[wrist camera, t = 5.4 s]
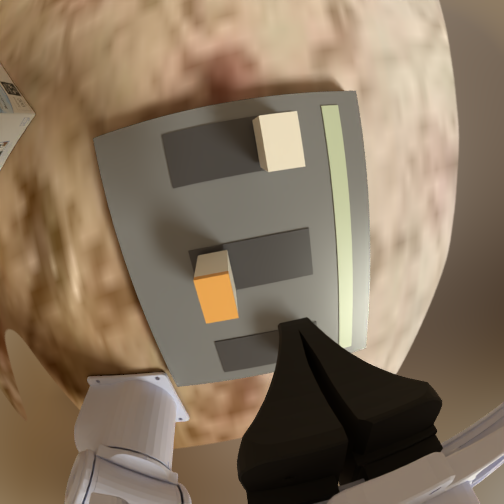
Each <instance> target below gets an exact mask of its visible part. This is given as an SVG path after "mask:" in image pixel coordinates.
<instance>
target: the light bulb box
mask: <svg viewBox="0 0 504 504" xmlns="http://www.w3.org/2000/svg"><path fill="white" fill-rule="evenodd" d="M34 116H35V113H34V111H33V110H32V109H31V107H30V106H29V104H28V103H27V102H26V100H25V99H24V97H23V96H22V95H21V93H20V92H19V90H18V89H17V87H16V86H15V85H14V83H13V82H12V80H11V79H10V77H9V76H8V74H7V73H6V71H5V70H4V68H3V67H2V65H1V63H0V170H1V168H2V166H3V164H4V163H5V161H6V159H7V157H8V156H9V154H10V152H11V151H12V149H13V147H14V146H15V144H16V143H17V141H18V140H19V138H20V136H21V135H22V133H23V132H24V130H25V129H26V127H27V126H28V125H29V123H30V122H31V120H32V119H33V117H34Z"/></svg>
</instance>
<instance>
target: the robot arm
mask: <svg viewBox="0 0 504 504" xmlns="http://www.w3.org/2000/svg"><path fill="white" fill-rule="evenodd" d="M278 333H279V349H278V357H277V362H276V367H275V371H274V375H273V378H272V381H271V384H270V387H269V390H268V392H267V395H266V397H265V400H264V402H263V404H262V406H261V408H260V410H259V412H258V413H257V415H256V417H255V419H254V421H253V422H252V424H251V425H250V427H249V428H248V430H247V431H246V433H245V434H244V436H243V438H242V441H241V445H240V449H239V453H238V459H237V470H238V478H239V481H240V482H241V484H242V486H243V487H244V489H245V490H246V492H247V499H248V504H480V502H479V500H478V498H477V496H476V494H475V493H474V491H473V489H472V487H474V486H475V485H476V484H478V483H479V482H481V481H482V480H483V479H484V478H486V477H487V476H488V475H490V474H491V473H492V472H493V471H495V470H496V469H497V468H498V467H499V466H500V465H502V464H503V463H504V402H503V403H502V404H500V405H499V406H498V407H496V408H495V409H494V410H492V411H491V412H490V413H488V414H487V415H486V416H484V417H483V418H481V419H480V420H478V421H477V422H475V423H474V424H472V425H471V426H469V427H468V428H466V429H465V430H463V431H461V432H460V433H458V434H456V435H455V436H453V437H451V438H450V439H448V440H446V441H444V442H443V443H440V441H439V440H438V438H437V437H436V435H435V434H436V433H437V429H436V428H435V426H434V422H435V420H436V418H437V416H438V414H439V412H440V409H441V407H442V400H441V398H440V397H439V396H438V394H437V393H436V391H435V390H434V389H433V388H432V387H431V386H430V385H429V383H428V382H424V381H419V380H414V379H410V378H405V377H402V376H398V375H396V374H393V373H390V372H387V371H385V370H382V369H380V368H378V367H375V366H373V365H371V364H369V363H367V362H365V361H363V360H361V359H360V358H358V357H356V356H355V355H353V354H351V353H350V352H348V351H347V350H346V349H344V348H343V347H341V346H340V345H339V344H337V343H336V342H335V341H334V340H332V339H331V338H330V337H329V336H327V335H326V334H325V333H324V332H323V331H322V330H321V329H319V328H318V327H317V326H316V325H315V324H314V323H313V322H312V321H311V320H310V319H309V318H308V317H305V318H301V319H297V320H292V321H287V322H283V323H279V325H278ZM87 382H88V383H89V385H90V387H89V389H88V392H87V394H86V397H85V399H84V402H83V404H82V407H81V410H80V412H79V415H78V418H77V420H76V423H75V429H74V437H75V443H76V447H77V449H78V451H79V454H78V455H77V457H76V460H75V462H74V465H73V467H72V470H71V473H70V477H69V480H68V484H67V488H66V494H65V503H64V504H192V503H191V498H190V496H189V494H188V491H187V490H186V488H185V487H184V486H183V485H182V484H180V483H178V474H177V473H175V472H172V471H171V467H172V454H173V442H174V432H175V422H180V421H188V420H189V415H188V413H187V412H186V410H185V408H184V406H183V404H182V402H181V401H180V399H179V397H178V395H177V393H176V391H175V389H174V387H173V385H172V384H171V382H170V380H169V378H168V376H167V374H166V373H164V372H156V373H145V374H131V375H114V376H89V377H88V378H87ZM338 482H339V484H340V486H338Z"/></svg>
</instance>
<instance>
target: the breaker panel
mask: <svg viewBox="0 0 504 504" xmlns="http://www.w3.org/2000/svg"><path fill="white" fill-rule="evenodd" d="M93 141H94V146H95V151H96V156H97V161H98V166H99V170H100V175H101V179H102V183H103V187H104V191H105V195H106V199H107V203H108V207H109V210H110V214H111V218H112V221H113V225H114V228H115V231H116V235H117V238H118V241H119V244H120V248H121V251H122V254H123V257H124V260H125V263H126V266H127V269H128V271H129V274H130V277H131V280H132V283H133V285H134V288H135V291H136V294H137V296H138V299H139V301H140V304H141V307H142V309H143V312H144V314H145V317H146V319H147V321H148V324H149V326H150V329H151V331H152V333H153V336H154V338H155V340H156V343H157V345H158V347H159V349H160V352H161V354H162V356H163V358H164V360H165V362H166V365H167V367H168V369H169V371H170V373H171V375H172V377H173V379H174V381H175V383H176V385H177V387H180V386H189V385H198V384H206V383H213V382H220V381H227V380H233V379H239V378H245V377H251V376H256V375H262V374H267V373H272V372H274V371H275V367H276V362H277V357H278V349H279V333H278V325H279V323H283V322H287V321H292V320H297V319H301V318H305V317H308V318H309V319H310V320H311V321H312V322H313V323H314V324H315V325H316V326H317V327H318V328H319V329H321V330H322V331H323V332H324V333H325V334H326V335H327V336H329V337H330V338H331V339H332V340H334V341H335V342H336V343H337V344H339V345H340V346H341V347H343V348H344V349H346V350H347V351H348V352H350V353H353V352H356V351H359V350H363V349H366V341H367V329H368V314H369V293H370V220H369V199H368V184H367V172H366V161H365V151H364V142H363V134H362V127H361V120H360V113H359V106H358V100H357V94H356V91H328V92H310V93H296V94H285V95H276V96H267V97H259V98H252V99H245V100H238V101H232V102H226V103H221V104H216V105H210V106H205V107H200V108H196V109H191V110H187V111H182V112H178V113H174V114H170V115H166V116H162V117H159V118H155V119H151V120H148V121H144V122H141V123H138V124H134V125H131V126H128V127H125V128H121V129H118V130H115V131H112V132H110V133H107V134H104V135H101V136H98V137H95V138H93ZM224 250H227V251H228V256H229V261H230V265H231V270H232V274H233V279H234V284H235V288H236V297H237V307H238V316H239V318H236V319H230V320H225V321H219V322H213V323H207V324H206V321H205V318H204V315H203V312H202V308H201V305H200V302H199V298H198V295H197V291H196V288H195V285H194V281H193V279H194V274H195V269H196V263H197V258H198V255H203V254H208V253H213V252H219V251H224Z"/></svg>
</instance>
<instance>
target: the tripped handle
mask: <svg viewBox="0 0 504 504" xmlns="http://www.w3.org/2000/svg"><path fill="white" fill-rule="evenodd" d="M193 281H194V285H195V288H196V291H197V295H198V298H199V302H200V305H201V308H202V312H203V315H204V318H205V321H206V324H207V323H213V322H219V321H225V320H230V319H236V318H239V316H238V307H237V297H236V288H235V284H234V279H233V274H232V270H231V265H230V261H229V256H228V251H227V250H224V251H219V252H213V253H208V254H203V255H198V258H197V263H196V269H195V274H194V279H193Z"/></svg>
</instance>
